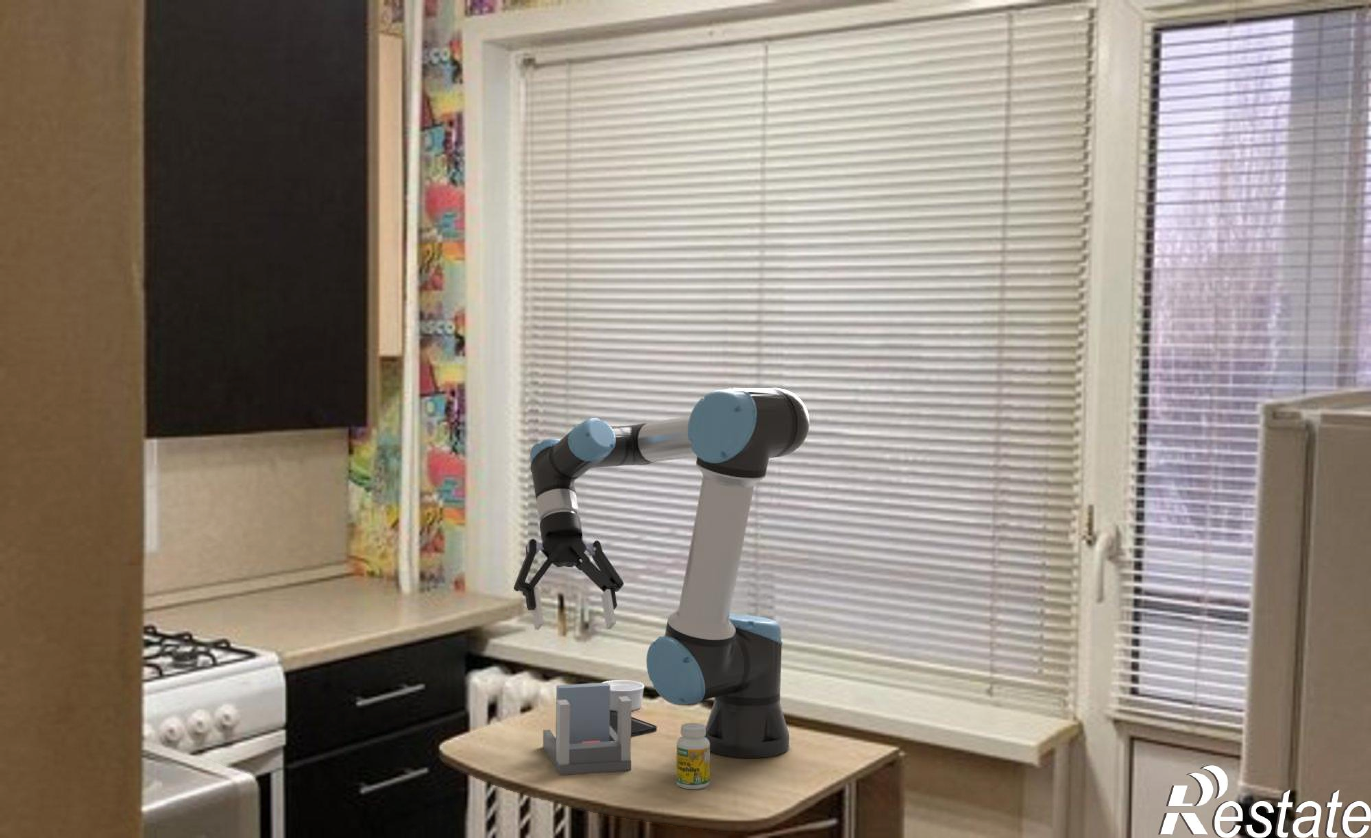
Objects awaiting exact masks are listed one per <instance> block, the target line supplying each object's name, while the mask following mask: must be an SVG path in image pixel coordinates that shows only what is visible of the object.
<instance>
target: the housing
mask: <svg viewBox="0 0 1371 838" xmlns="http://www.w3.org/2000/svg"><path fill="white" fill-rule="evenodd" d="M617 712H618V730H617V734H616V732H615V731H614V730H613V729H612V727H611V726H610V727H609V741H607V742H600V741H585V742H582V743H576V744H569V725H570V704H569V703H568V701H567V700H557V724H556V723H555V735H554V733H553V732H552V731H551V729H543V730H542V734H543V735H542V747H543V749H544V750H545V753H546V754H547V756H548V758H549V759H550V761H551V763H552V764H553V766H554V768H555V770H556V771H557V773H558V775H559V776H563V775H565V776H566V775H577V774H578V775H579V774H580V775H581V774H590V773H594V774H595V773H605V772H606V773H607V772H621V771H631V770H632V760H631V757H632V756H631V755H632V754H631V753H632V751H631V749H632V745H631V744H632V737H631V717H632V711H631V700H630V699H629V698H628V697H627V696H624V697H618V711H617Z"/></svg>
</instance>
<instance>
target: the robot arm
mask: <svg viewBox="0 0 1371 838" xmlns="http://www.w3.org/2000/svg"><path fill="white" fill-rule="evenodd" d="M808 412H809V411H808V409H807V407H806V405H805V404H804V402H803V401H802V400H801V398H799V396H797V394H795V393H793V392H791V391H789V390H788V389H787V390H786V389H783V388H778V387H767V388H766V387H765V388H741V387H728V388H723V389H717V390H713V391H710V392H708V393H707V394H706V395H703V397H701V398H700V399H699V400H698V402H696V404H695V405H694V407H693V409H692V410H691V413H690V415H688V416H683V417H681V416H680V417H676V418H669V419H663V420H657V421H652V422H644V423H639V424H632V425H631V424H629V425H620V426H619V425H618V426H614V425H613V426H611V425H609V424H608V423H607V422H606V421H605V420H602V419H601V420H600V418H598V417H590V418H586V419H585V420H584V421H582V422H580V423H579V424H577V425H576V426H574V427H573V428H572V429H571V431H569V432H568V433H567V434H565V436H563V437H562V438H561V439H559V438H546V439H543V440H542V441H538V442H536V443H535V444H534V445H532V446H531V448H530V452H529V455H530V466H529V469H530V471H531V476H532V484H533V487H534V488H533V489H534V490H533V491H534V496H535V499H536V501H535V502H536V509H537V516H538V520H539V529H540V530H539V532H540V538H541V542H539V541H537V540H536V539H534V538H531V539H530V540H529V541H528V543H527V545H526V546H525V556H524V560H523V562H522V565H521V568H520V570H519V573H518V574H517V577H516V580H515V583H514V585H513V590H514V591H515V592H519V591H520V592H522V596H524V597H525V603H526V609H527V611H531V612H532V618H533V619H532V620H533V627H534V630H537V631H538V630H540V629H541V628H542V627H543V625H544V624H545V623H544V615H543V607H542V601H541V595H540V594H541V593H540V588H535V587H536V586H537V585H538V584H539V582H540V581H541V579H542V577H543V576H544V575H545V574H546V572H547V571H548V570H549V568H550V567H551V566H552V565H553V566H555V567H556V568H563V567H567V568H573V567H575V568H576V569H577V570H579V571H581V572H583V573H584V574H585V576H587V577H588V578H589V580H591V581H592V582H593V583H594V584H595V585H596V586H597V587H598V588H599V589H600V590H601V591H602V592H603V593H602V594H600V595H601V602H602V603H601V604H602V608H603V615H604V621H605V627H606V630H612V628H613V627H614V626H615V625H616V623H617V621H616V616H615V609H617V607H618V602H617V595H616V592H619V591H620V590H621V589H622V587H624V585H625V584H624V581H623V579H622V578H621V577H620V575H619V573H618V571H617V570H616V569H615V567H614V566H613V564H612V563H611V561H610V560H609V559H608V557H607V556H606V554H605V553H604V551H603V548H602V545H601V542H600V541H599V540H597V539H596V540H594V542H592V543H591V542H589V543H586V542H585V541H584V537H583V529H582V524H581V517H580V509H579V504H578V499H577V498H578V497H577V491H576V488H575V487H576V485H575V481H576V480H577V479H579V478H581V477H582V476H583V475H584V474H585V473H586V472H588V471H589V470H591V469H594V468H595V469H596V468H597V469H598V468H610V467H612V468H613V467H619V466H620V467H622V466H623V467H624V466H644V465H651V464H654V463H655V464H656V463H659V462H664V461H665V462H666V461H673V460H681V459H687V458H689V459H690V458H695V457H696V462H695V464H696V467H697V468H698V470H699V471H700V472H701V473H702V478H701V485H700V489H699V491H700V492H699V496H698V501H697V507H696V513H695V518H694V523H693V529H692V535H691V540H690V545H689V546H690V547H689V551H688V556H687V562H686V567H685V574H684V578H683V582H682V583H683V584H682V589H681V595H680V600H679V605H678V609H677V610H675V611H674V612H672V613H671V614H669V616H668V617H667V622H666V627H665V633H664V635H663V636H659V637H657V638H656V639H655V641H653V642H652V643H651V644H650V645H649V647H648V649H647V653H646V659H645V660H646V670H647V674H648V677H649V680H650V681H651V683H652V685H653V688H654V689H655V691H656V692H657V694H659V696H660V697H661V698H662V699H664V700H665V701H666V702H668V703H671V704H673V705H675V706H676V705H679V706H684V705H688V704H690V705H694V704H698V703H700V702H701V701H705V700H706V701H707V700H709V699H713V698H714V701H713V705H712V708H711V711H710V713H709V717H708V720H707V722H706V725H705V726H706V734H705V736H704V737H705V738H707V739H708V740H709V742H710V752H712V753H714V754H717V755H722V756H727V757H733V758H745V759H747V758H749V759H753V758H755V759H757V758H768V757H773V756H778V755H781V754H783V753H785V752H787V751H788V750H789V748H790V732H789V729H788V726H787V723H786V720H785V719H786V718H785V716H784V713H783V709H782V706H781V680H782V675H781V674H782V650H783V649H782V648H783V641H782V627H781V626H780V624H779V623H778V622H777V621H776V620H774V619H771V618H768V617H762V616H757V615H749V614H738V613H731V608H732V604H733V599H734V593H735V588H736V583H737V579H738V577H737V576H738V572H739V567H740V562H741V556H742V552H743V546H744V541H745V535H746V530H747V525H748V519H749V513H750V509H751V505H752V504H751V503H752V499H753V493H754V488H755V485H756V484H757V483H758V482H760V481H761V480H763V479H765V478H766V475H767V469H768V465H769V460H770V459H774V458H780V457H785V456H788V455H790V454H791V453H793V452H795V451H796V450H797V449H799V448H800V447H801V446H802V444H804V442H805V440H806V439H807V436H808V433H809V429H810V417H809V413H808ZM539 551H540V552H541V553H542V554H543V555H544V556H545V557H546V558H547V559H546V560H545V561H544V563H542V565H541V566H540V568H539V569H538V571H537V572H536V573H535V575H534V576H533V577H532V579H531V580H530V582H526V580H527V578H528V575H529V573H530V570H531V567H532V564H533V562H534V560H535V557H536V555H537V554H539ZM585 552H587V553H588V555H587V554H586V553H585ZM589 556H590V557H591V558H592V560H593V562H594V563H595V564H594V563H593V562H592V561H591V558H590V557H589Z"/></svg>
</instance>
